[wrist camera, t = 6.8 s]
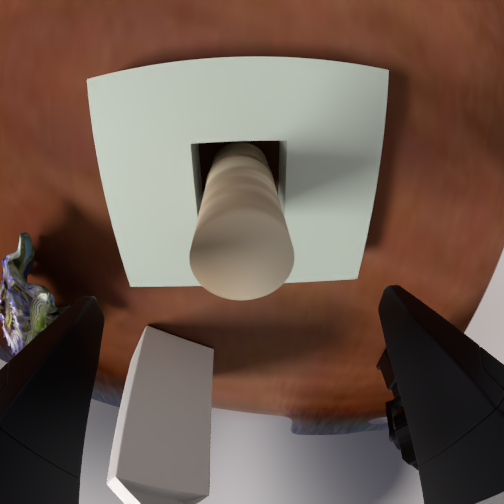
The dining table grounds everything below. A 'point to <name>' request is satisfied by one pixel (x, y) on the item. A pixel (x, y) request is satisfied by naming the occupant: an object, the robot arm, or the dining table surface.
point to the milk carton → (164, 423)
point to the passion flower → (24, 298)
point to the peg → (241, 228)
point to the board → (239, 129)
